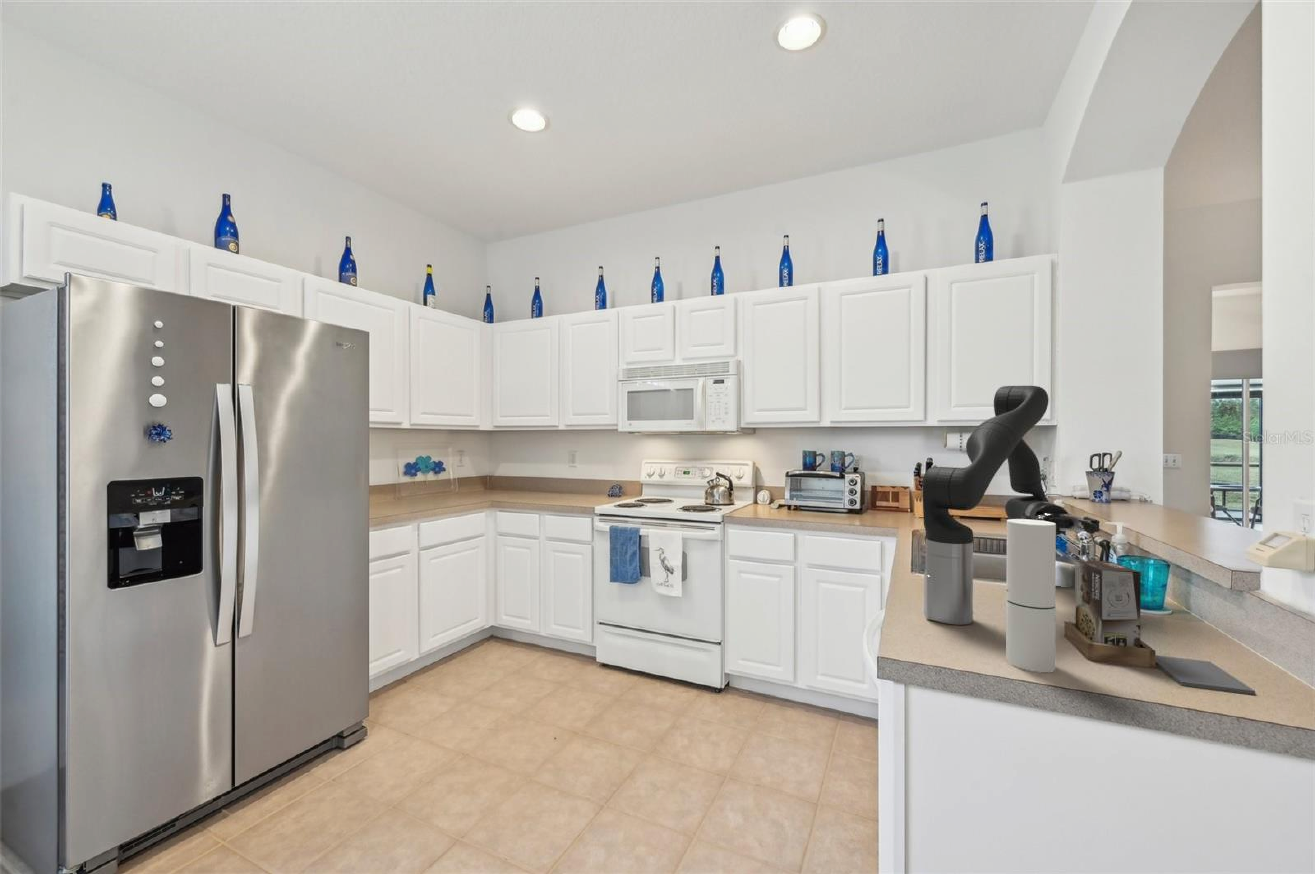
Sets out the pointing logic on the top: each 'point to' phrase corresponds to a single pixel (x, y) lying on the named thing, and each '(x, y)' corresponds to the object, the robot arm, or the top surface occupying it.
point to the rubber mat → (1200, 674)
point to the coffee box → (1108, 602)
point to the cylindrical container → (1031, 594)
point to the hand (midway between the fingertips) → (1069, 527)
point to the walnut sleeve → (1110, 650)
